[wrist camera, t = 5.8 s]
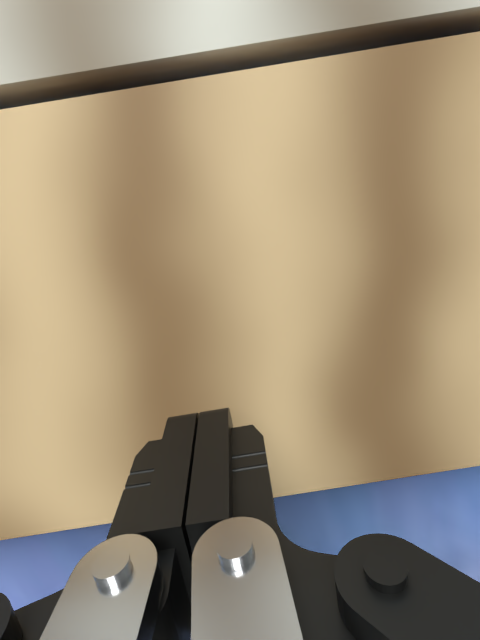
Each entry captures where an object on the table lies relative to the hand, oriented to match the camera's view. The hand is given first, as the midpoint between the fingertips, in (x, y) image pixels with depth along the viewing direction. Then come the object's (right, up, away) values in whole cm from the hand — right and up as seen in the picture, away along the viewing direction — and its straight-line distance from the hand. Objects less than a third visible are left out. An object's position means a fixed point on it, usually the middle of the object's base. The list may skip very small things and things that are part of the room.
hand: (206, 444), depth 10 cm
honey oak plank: (-1, +3, +3) cm, 5 cm away
